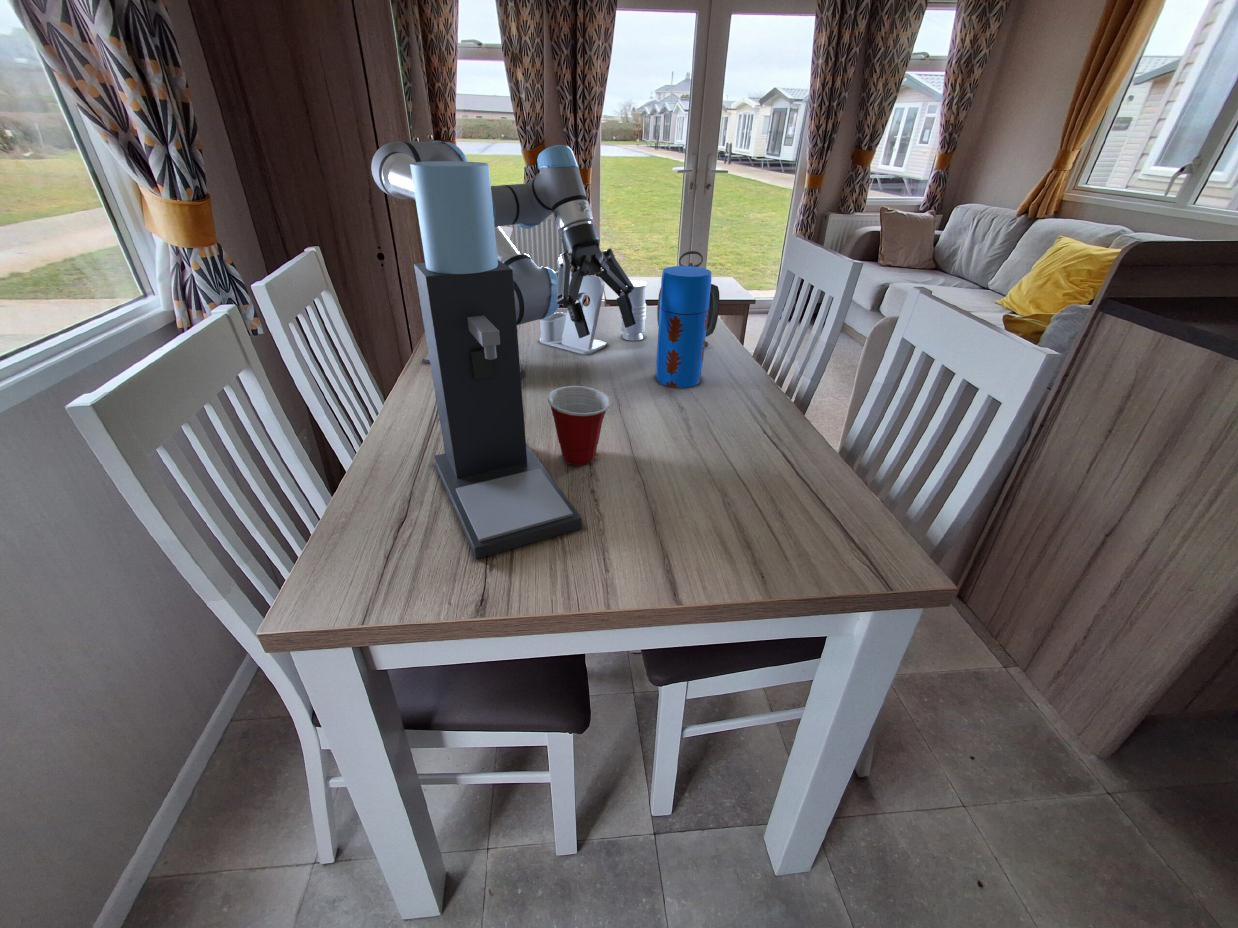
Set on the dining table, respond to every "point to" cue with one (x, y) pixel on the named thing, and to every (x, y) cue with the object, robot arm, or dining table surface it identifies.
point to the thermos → (682, 325)
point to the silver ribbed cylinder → (636, 312)
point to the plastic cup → (578, 421)
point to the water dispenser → (479, 367)
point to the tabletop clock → (713, 301)
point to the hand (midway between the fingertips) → (608, 331)
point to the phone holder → (563, 330)
